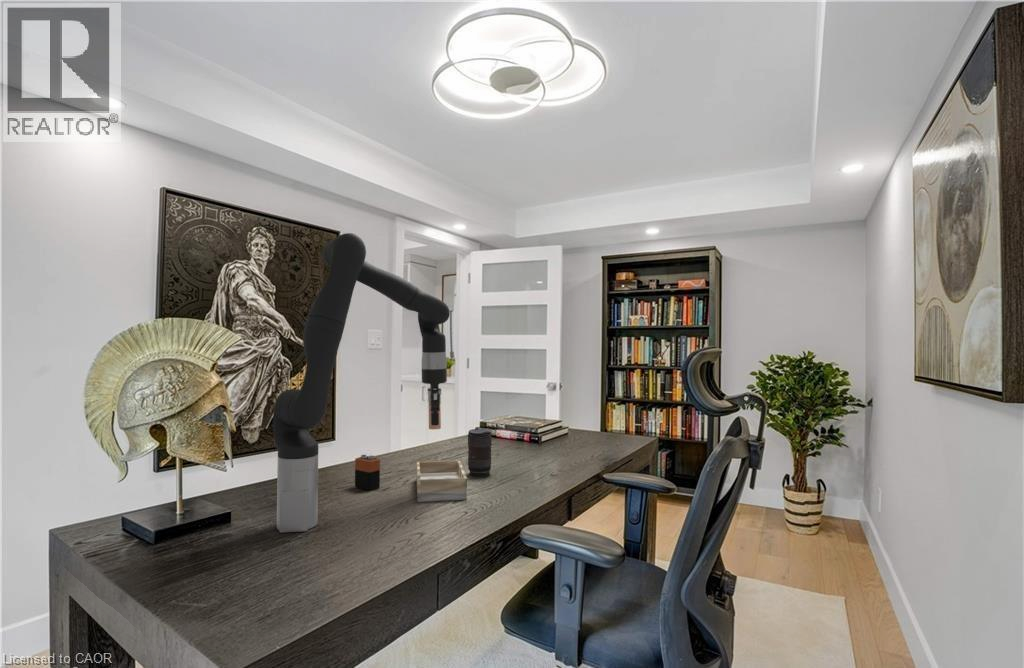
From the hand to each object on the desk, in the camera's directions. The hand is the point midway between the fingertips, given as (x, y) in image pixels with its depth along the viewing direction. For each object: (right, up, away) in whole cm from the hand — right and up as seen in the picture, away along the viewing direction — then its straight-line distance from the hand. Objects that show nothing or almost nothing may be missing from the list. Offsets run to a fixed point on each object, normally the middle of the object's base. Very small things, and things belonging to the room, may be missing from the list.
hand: (434, 423), depth 155 cm
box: (+1, -20, +2) cm, 21 cm away
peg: (0, -1, 0) cm, 1 cm away
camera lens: (+12, -21, +19) cm, 31 cm away
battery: (-21, -20, +2) cm, 29 cm away
